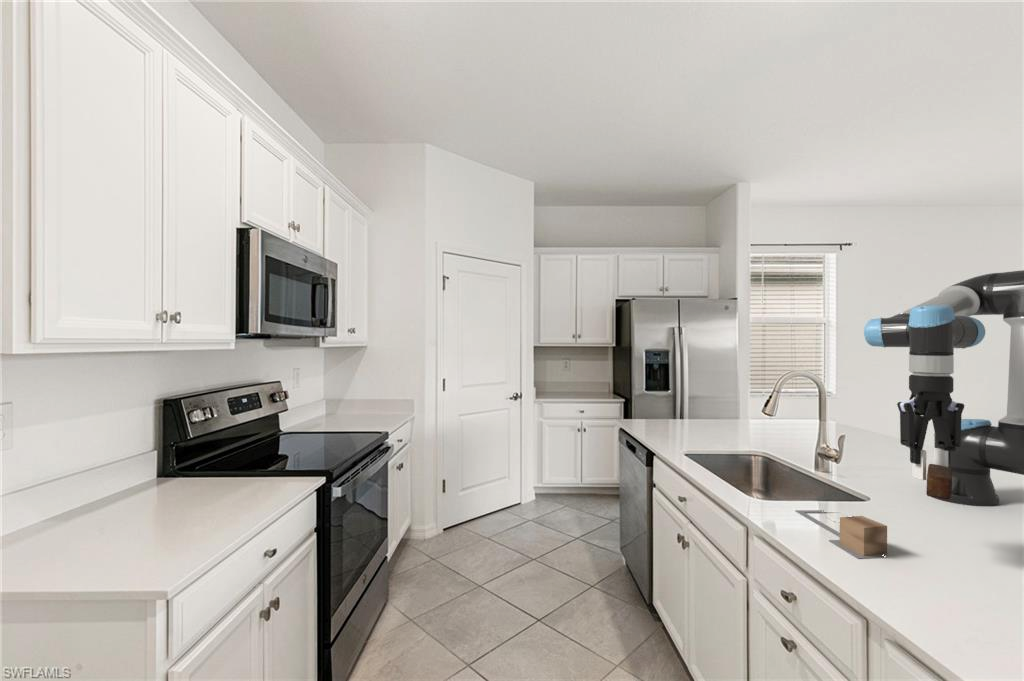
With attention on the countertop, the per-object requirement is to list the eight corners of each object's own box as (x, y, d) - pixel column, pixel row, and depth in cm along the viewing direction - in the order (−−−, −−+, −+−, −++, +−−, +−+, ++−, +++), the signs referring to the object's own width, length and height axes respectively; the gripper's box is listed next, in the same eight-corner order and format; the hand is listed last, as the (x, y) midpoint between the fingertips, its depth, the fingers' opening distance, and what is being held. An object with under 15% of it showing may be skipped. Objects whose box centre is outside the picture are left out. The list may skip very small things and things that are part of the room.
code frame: (842, 511, 129) (842, 510, 129) (893, 537, 112) (893, 536, 112) (795, 511, 128) (795, 510, 128) (839, 537, 111) (839, 536, 111)
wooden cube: (861, 541, 108) (861, 515, 108) (887, 553, 103) (887, 525, 103) (839, 543, 107) (839, 517, 107) (863, 555, 101) (864, 527, 101)
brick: (951, 501, 96) (952, 479, 96) (926, 496, 99) (926, 474, 99) (951, 485, 104) (952, 464, 104) (928, 481, 107) (928, 461, 106)
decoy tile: (867, 540, 109) (867, 539, 109) (899, 558, 100) (899, 557, 100) (828, 540, 109) (828, 540, 109) (857, 558, 100) (857, 557, 100)
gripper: (952, 373, 110) (951, 473, 110) (879, 373, 110) (878, 473, 110) (985, 375, 103) (984, 483, 103) (907, 375, 102) (906, 483, 102)
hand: (930, 478), depth 106 cm, fingers closed on brick, 4 cm apart
